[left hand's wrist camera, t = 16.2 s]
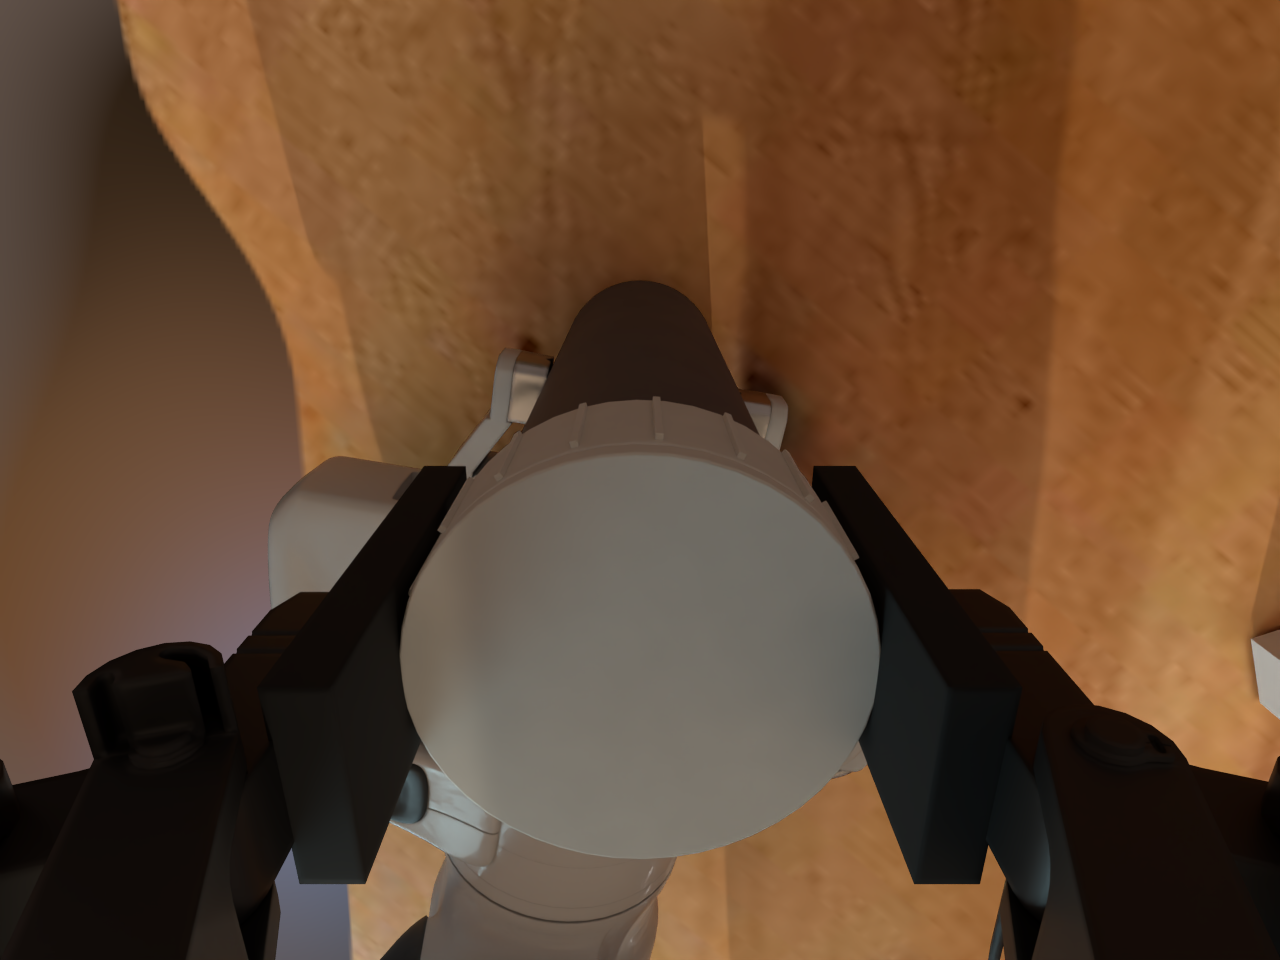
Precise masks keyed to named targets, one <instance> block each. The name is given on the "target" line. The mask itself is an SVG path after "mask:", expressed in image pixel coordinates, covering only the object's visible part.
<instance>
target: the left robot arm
mask: <svg viewBox="0 0 1280 960" xmlns="http://www.w3.org/2000/svg"><path fill="white" fill-rule="evenodd" d="M466 480H467V475H466V466H424V467H423V468H422V470H421V471H420V472H419V474H418V475H417V476H416V478H415V479H414V480H413V482H412V483H411V484H410V486H409V487H408V488H407V490H406V491H405V492H404V493H403V495H402V496H401V497H400V499H399V500H398V501H397V503H396V504H395V505H394V507H393V508H392V509H391V511H390V512H389V513H388V515H387V516H386V517H385V519H384V520H383V521H382V523H381V524H380V525H379V527H378V528H377V529H376V530H375V532H374V533H373V534H372V536H371V537H370V538H369V540H368V541H367V542H366V544H365V545H364V546H363V548H362V549H361V550H360V552H359V553H358V554H357V556H356V557H355V558H354V560H353V561H352V562H351V564H350V565H349V566H348V568H347V569H346V570H345V571H344V573H343V574H342V575H341V577H340V578H339V579H338V581H337V582H336V583H335V585H334V586H333V587H332V589H331V590H330V591H329V592H299V593H298V594H296V595H294V596H293V597H291V598H289V599H288V600H286V601H284V602H283V603H281V604H280V605H278V606H276V607H275V608H273V609H271V610H270V611H269V612H268V614H267V615H266V616H265V617H264V618H263V619H262V621H261V622H260V623H259V624H258V625H257V626H256V628H255V629H254V630H253V631H252V636H248V637H247V638H246V639H245V640H244V641H243V643H242V644H241V645H240V646H239V647H238V648H237V653H236V654H232V655H231V657H230V658H229V659H228V660H227V661H226V662H225V664H224V662H223V658H222V654H221V653H220V652H219V651H217V650H216V649H215V648H213V647H212V646H210V645H207V644H201V643H196V642H175V643H163V644H159V645H155V646H151V647H147V648H143V649H139V650H135V651H133V652H130V653H128V654H126V655H123V656H121V657H118V658H116V659H113V660H111V661H109V662H107V663H106V664H104V665H102V666H101V667H99V668H98V669H96V670H95V671H93V672H91V673H90V674H88V675H87V676H86V677H85V678H84V679H83V680H82V681H81V682H80V683H79V684H78V686H77V687H76V688H75V689H74V690H73V691H72V693H73V696H74V699H75V702H76V705H77V708H78V711H79V714H80V718H81V721H82V724H83V727H84V730H85V733H86V736H87V739H88V742H89V745H90V748H91V751H92V755H93V758H94V761H93V763H92V765H91V767H90V768H89V769H85V770H82V771H78V772H73V773H68V774H63V775H59V776H54V777H49V778H44V779H39V780H35V781H30V782H25V783H20V784H16V785H12V784H11V781H10V778H9V776H8V773H7V771H6V768H5V765H4V763H3V761H2V760H1V759H0V960H275V957H276V948H277V939H278V930H279V922H280V913H281V912H280V905H279V899H278V893H277V889H276V885H275V881H274V880H275V878H276V877H277V875H278V873H279V871H280V869H281V867H282V865H283V863H284V861H285V859H286V857H287V855H288V854H289V852H290V850H291V848H292V851H293V856H294V860H295V865H296V869H297V874H298V879H299V883H300V884H365V883H366V881H367V878H368V876H369V873H370V871H371V868H372V865H373V863H374V860H375V858H376V855H377V853H378V850H379V847H380V845H381V842H382V840H383V837H384V835H385V832H386V830H387V827H388V824H389V822H390V819H391V817H392V814H393V812H394V809H395V806H396V804H397V801H398V799H399V796H400V794H401V791H402V789H403V786H404V783H405V781H406V778H407V776H408V773H409V771H410V768H411V765H412V763H413V760H414V758H415V755H416V753H417V750H418V748H419V745H420V742H421V738H420V737H419V735H418V733H417V731H416V728H415V726H414V723H413V721H412V718H411V716H410V713H409V711H408V708H407V704H406V700H405V695H404V688H403V681H402V673H401V665H400V657H399V650H400V638H401V627H402V623H403V618H404V614H405V610H406V606H407V602H408V599H409V597H410V596H408V592H409V589H410V587H411V585H412V584H413V582H414V580H415V578H416V576H417V575H418V573H419V571H420V569H421V568H422V566H423V564H424V562H425V560H426V559H427V557H428V555H429V553H430V552H431V550H432V548H433V546H434V545H435V543H436V541H437V539H438V537H439V536H440V534H442V533H441V532H439V531H438V528H439V527H440V525H441V523H442V521H443V520H444V518H445V516H446V514H447V513H448V511H449V509H450V508H451V506H452V504H453V502H454V501H455V499H456V497H457V495H458V494H459V492H460V490H461V489H462V487H463V485H464V483H465V482H466ZM812 489H813V490H814V492H815V493H816V495H817V496H818V498H819V499H820V501H821V503H822V502H824V501H827V503H828V504H829V506H830V508H831V510H832V511H833V513H834V515H835V516H836V518H837V520H838V521H839V523H840V525H841V527H842V528H843V530H844V532H845V533H846V535H847V537H848V538H849V540H850V542H851V544H852V545H853V547H854V549H855V550H856V552H857V554H858V556H859V558H858V559H856V560H854V561H855V563H856V565H857V566H858V568H859V570H860V572H861V575H862V577H863V579H864V581H865V583H866V585H867V588H868V590H869V592H870V594H871V598H872V601H873V605H874V608H875V612H876V616H877V619H878V625H879V634H880V642H881V652H880V661H879V669H878V677H877V684H876V691H875V698H874V704H873V708H872V711H871V713H870V716H869V719H868V722H867V725H866V727H865V729H864V731H863V733H862V735H861V737H860V739H859V740H858V741H859V744H860V746H861V749H862V751H863V754H864V757H865V759H866V762H867V764H868V767H869V769H870V772H871V774H872V777H873V780H874V782H875V785H876V787H877V790H878V792H879V795H880V797H881V800H882V803H883V805H884V808H885V810H886V813H887V815H888V818H889V821H890V823H891V826H892V828H893V831H894V833H895V836H896V838H897V841H898V844H899V846H900V849H901V851H902V854H903V856H904V859H905V862H906V864H907V867H908V869H909V872H910V874H911V877H912V879H913V882H914V884H980V881H981V876H982V872H983V867H984V863H985V858H986V853H987V849H988V845H989V847H990V849H991V851H992V852H993V854H994V856H995V858H996V860H997V862H998V864H999V866H1000V868H1001V870H1002V872H1003V873H1004V875H1005V877H1006V881H1005V885H1004V889H1003V893H1002V898H1001V902H1000V906H999V911H998V915H997V919H996V923H995V928H994V932H993V936H992V941H991V945H990V952H989V958H988V960H1000V957H1001V953H1002V949H1003V946H1004V954H1005V960H1280V756H1279V757H1278V758H1277V761H1276V763H1275V766H1274V769H1273V771H1272V774H1271V777H1270V779H1269V782H1267V781H1262V780H1257V779H1252V778H1248V777H1243V776H1238V775H1233V774H1228V773H1224V772H1219V771H1214V770H1209V769H1204V768H1200V767H1196V766H1193V765H1189V763H1188V761H1187V759H1186V758H1185V756H1184V755H1183V754H1182V752H1181V751H1180V750H1179V748H1178V747H1177V746H1176V744H1175V743H1174V742H1173V741H1172V740H1171V739H1169V738H1168V737H1167V736H1165V735H1164V734H1163V733H1161V732H1160V731H1158V730H1157V729H1156V728H1154V727H1153V726H1152V725H1150V724H1147V723H1145V722H1143V721H1141V720H1139V719H1137V718H1135V717H1133V716H1131V715H1128V714H1126V713H1123V712H1120V711H1116V710H1112V709H1109V708H1105V707H1102V706H1095V705H1094V704H1093V703H1092V702H1091V701H1090V700H1089V699H1088V697H1087V696H1086V695H1085V694H1084V693H1083V692H1082V691H1081V689H1080V688H1079V687H1078V686H1077V685H1076V684H1075V682H1074V681H1073V680H1072V679H1071V678H1070V677H1069V676H1068V674H1067V673H1066V672H1065V671H1064V670H1063V669H1062V667H1061V666H1060V665H1059V664H1058V663H1057V662H1056V661H1055V659H1054V658H1053V657H1052V656H1051V655H1050V654H1049V653H1048V651H1044V650H1043V646H1042V644H1041V643H1040V642H1039V641H1038V640H1037V639H1036V638H1035V636H1034V635H1033V634H1032V633H1028V628H1027V627H1026V626H1025V625H1024V624H1023V623H1022V621H1021V620H1020V619H1019V618H1018V617H1017V616H1016V614H1015V613H1014V612H1013V611H1012V610H1011V609H1010V608H1009V607H1008V606H1006V605H1005V604H1003V603H1001V602H1000V601H998V600H996V599H995V598H993V597H991V596H990V595H988V594H986V593H985V592H983V591H982V590H980V589H948V588H947V587H946V585H945V584H944V583H943V581H942V580H941V579H940V577H939V576H938V575H937V574H936V572H935V571H934V570H933V568H932V567H931V566H930V564H929V563H928V562H927V560H926V559H925V558H924V556H923V555H922V554H921V552H920V551H919V550H918V548H917V547H916V546H915V544H914V543H913V542H912V540H911V539H910V538H909V537H908V535H907V534H906V533H905V531H904V530H903V529H902V527H901V526H900V525H899V523H898V522H897V521H896V519H895V518H894V517H893V515H892V514H891V513H890V511H889V510H888V509H887V507H886V506H885V505H884V503H883V502H882V501H881V499H880V498H879V497H878V496H877V494H876V493H875V492H874V490H873V489H872V488H871V486H870V485H869V484H868V482H867V481H866V480H865V478H864V477H863V476H862V474H861V473H860V472H859V470H858V469H857V468H856V466H814V469H813V480H812Z"/></svg>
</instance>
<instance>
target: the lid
mask: <svg viewBox="0 0 1280 960" xmlns="http://www.w3.org/2000/svg"><path fill="white" fill-rule="evenodd" d="M438 531H439V532H441V533H442V534H440V536H439V537H438V539H437V541H436V543H435V545H434V546H433V548H432V550H431V552H430V553H429V555H428V557H427V559H426V560H425V562H424V564H423V566H422V568H421V569H420V571H419V573H418V575H417V576H416V578H415V580H414V582H413V584H412V585H411V587H410V589H409V592H408V596H410V597H409V599H408V602H407V606H406V610H405V614H404V618H403V623H402V627H401V638H400V650H399V657H400V665H401V673H402V681H403V688H404V695H405V700H406V704H407V708H408V711H409V713H410V716H411V718H412V721H413V723H414V726H415V728H416V731H417V733H418V735H419V737H420V738H421V740H422V742H423V744H424V745H425V747H426V749H427V751H428V752H429V754H430V756H431V757H432V758H433V760H434V761H435V762H436V764H437V765H438V766H439V767H440V769H441V770H442V771H443V773H444V774H445V775H446V777H447V778H448V779H449V780H450V781H451V782H452V783H453V784H454V785H455V786H456V787H457V788H458V789H459V790H460V791H461V792H462V793H463V794H464V795H465V796H467V797H468V798H469V799H470V800H472V801H473V802H474V803H475V804H477V805H478V806H479V807H480V808H482V809H483V810H484V811H486V812H487V813H489V814H490V815H492V816H493V817H495V818H497V819H498V820H500V821H501V822H503V823H505V824H506V825H508V826H510V827H512V828H514V829H516V830H518V831H520V832H522V833H524V834H526V835H528V836H531V837H533V838H535V839H538V840H541V841H543V842H546V843H549V844H552V845H555V846H558V847H561V848H565V849H569V850H573V851H577V852H581V853H586V854H591V855H598V856H606V857H613V858H634V859H649V858H665V857H675V856H682V855H688V854H694V853H700V852H704V851H707V850H711V849H715V848H718V847H722V846H726V845H729V844H731V843H734V842H736V841H739V840H742V839H744V838H747V837H750V836H752V835H754V834H756V833H758V832H760V831H762V830H764V829H766V828H768V827H770V826H772V825H774V824H776V823H777V822H779V821H781V820H782V819H784V818H785V817H787V816H788V815H790V814H791V813H793V812H794V811H796V810H797V809H799V808H800V807H801V806H802V805H804V804H805V803H806V802H807V801H808V800H810V799H811V798H812V797H813V796H814V795H816V794H817V793H818V792H819V791H820V790H821V789H822V788H823V787H824V786H825V785H826V784H827V783H828V782H829V781H830V779H831V778H832V777H833V776H834V775H835V774H836V773H837V772H838V771H839V769H840V768H841V767H842V765H843V764H844V762H845V761H846V760H847V758H848V757H849V755H850V754H851V753H852V751H853V750H854V748H855V746H856V744H857V742H858V740H859V739H860V737H861V735H862V733H863V731H864V729H865V727H866V725H867V722H868V719H869V716H870V713H871V711H872V708H873V704H874V698H875V691H876V684H877V677H878V669H879V661H880V652H881V642H880V634H879V625H878V619H877V616H876V612H875V608H874V605H873V601H872V598H871V594H870V592H869V590H868V588H867V585H866V583H865V581H864V579H863V577H862V575H861V572H860V570H859V568H858V566H857V565H856V563H855V561H854V560H856V559H858V558H859V556H858V554H857V552H856V550H855V549H854V547H853V545H852V544H851V542H850V540H849V538H848V537H847V535H846V533H845V532H844V530H843V528H842V527H841V525H840V523H839V521H838V520H837V518H836V516H835V515H834V513H833V511H832V510H831V508H830V506H829V504H828V503H827V501H824V502H822V503H821V501H820V499H819V498H818V496H817V495H816V493H815V492H814V490H813V489H812V487H811V485H810V484H809V482H808V481H807V479H806V478H805V476H804V475H803V474H802V473H801V472H800V471H799V469H798V467H797V465H796V463H795V462H794V460H793V458H792V456H791V454H790V453H789V452H788V451H787V450H786V449H784V450H783V451H782V452H781V451H779V450H778V449H777V448H776V447H775V446H773V445H772V444H771V443H770V442H769V441H768V440H766V439H764V438H763V437H761V436H760V435H758V434H757V433H755V432H753V431H752V430H750V429H749V428H747V427H746V426H744V425H742V424H739V423H737V422H735V421H734V420H733V418H732V415H731V414H728V413H726V412H725V413H724V415H723V416H722V415H720V414H717V413H714V412H710V411H707V410H704V409H701V408H698V407H694V406H690V405H684V404H679V403H673V402H667V401H661V400H660V397H656V396H653V401H652V400H627V401H615V402H606V403H601V404H596V405H592V406H587V403H582V404H579V407H578V409H576V410H573V411H570V412H567V413H564V414H561V415H558V416H556V417H553V418H551V419H549V420H547V421H545V422H543V423H541V424H539V425H537V426H535V427H533V428H531V429H529V430H528V431H526V432H525V433H523V434H522V433H521V432H520V431H518V432H516V433H515V434H514V435H513V437H512V439H511V441H510V443H509V444H507V445H506V446H505V447H504V448H503V449H502V450H501V451H500V452H499V453H497V454H496V455H495V456H494V457H493V458H492V459H491V460H490V461H489V462H488V463H487V464H486V465H485V466H484V468H483V469H482V470H481V471H480V472H479V474H478V475H477V476H476V477H475V478H474V479H472V478H471V477H468V479H467V480H466V482H465V483H464V485H463V487H462V489H461V490H460V492H459V494H458V495H457V497H456V499H455V501H454V502H453V504H452V506H451V508H450V509H449V511H448V513H447V514H446V516H445V518H444V520H443V521H442V523H441V525H440V527H439V528H438Z"/></svg>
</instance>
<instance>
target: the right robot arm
mask: <svg viewBox="0 0 1280 960" xmlns="http://www.w3.org/2000/svg"><path fill="white" fill-rule="evenodd" d="M553 362H554V357H553V356H548V355H543V354H538V353H533V352H527V351H522V350H519V349H511V348H504V350H503V351H502V352H501V353H500V355H499V358H498V361H497V366H496V370H495V377H494V386H493V395H492V404H491V409H490V410H489V411H488V412H487V414H486V415H485V416H484V418H483V419H482V420H481V421H480V423H479V424H478V425H477V426H476V428H475V429H474V430H473V431H472V433H471V434H470V435H469V436H468V438H467V439H466V440H465V442H464V443H463V444H462V445H461V447H460V448H459V450H458V451H457V453H456V454H455V455H454V457H453V458H452V460H451V461H450V463H449V464H448V466H466V475H467V479H468V477H471V478H472V479H474V478H475V477H476V476H477V475H478V474H479V472H480V471H481V470H482V469H483V468H484V466H485V465H486V464H487V463H488V462H489V461H490V460H491V459H492V458H493V457H494V456H495V455H496V454H497V453H496V452H489V451H490V450H491V449H492V448H493V446H494V445H495V444H496V443H497V441H498V440H499V439H500V438H501V436H502V435H503V434H504V433H505V431H506V430H507V429H508V428H509V426H510V425H511V424H512V422H515V423H522V424H526V422H527V420H528V418H529V416H530V414H531V411H532V409H533V407H534V405H535V403H536V401H537V399H538V397H539V394H540V392H541V390H542V388H543V386H544V384H545V382H546V380H547V377H548V375H549V373H550V371H551V369H552V367H553ZM738 390H739V392H740V394H741V396H742V398H743V401H744V403H745V405H746V407H747V409H748V411H749V413H750V415H751V417H752V420H753V422H754V424H755V426H756V428H757V430H758V432H759V434H760V436H761V437H763V438H764V439H766V440H768V441H769V442H770V443H771V444H772V445H773V446H775V447H776V448H777V449H778V450H779V451H780V447H781V443H782V439H783V435H784V431H785V427H786V423H787V419H788V405H787V403H786V402H785V400H784V399H783V397H782V396H779V395H773V394H767V393H762V392H756V391H749V390H743V389H738ZM421 470H422V469H417V468H411V467H405V466H399V465H393V464H387V463H381V462H375V461H369V460H363V459H357V458H351V457H343V456H337V457H332V458H329V459H328V460H326V461H324V462H323V463H322V464H320V465H319V466H318V467H316V468H315V469H314V470H312V471H311V472H309V473H308V474H307V475H305V476H304V477H303V478H302V479H300V480H299V481H298V482H297V483H296V484H295V485H294V486H293V487H292V488H291V489H290V490H289V491H288V492H287V493H286V494H285V495H284V496H283V497H282V499H281V500H280V501H279V503H278V504H277V506H276V507H275V509H274V511H273V513H272V516H271V519H270V524H269V533H268V569H269V588H270V601H271V609H273V608H275V607H276V606H278V605H280V604H281V603H283V602H284V601H286V600H288V599H289V598H291V597H293V596H294V595H296V594H298V593H299V592H329V591H330V590H331V589H332V587H333V586H334V585H335V583H336V582H337V581H338V579H339V578H340V577H341V575H342V574H343V573H344V571H345V570H346V569H347V568H348V566H349V565H350V564H351V562H352V561H353V560H354V558H355V557H356V556H357V554H358V553H359V552H360V550H361V549H362V548H363V546H364V545H365V544H366V542H367V541H368V540H369V538H370V537H371V536H372V534H373V533H374V532H375V530H376V529H377V528H378V527H379V525H380V524H381V523H382V521H383V520H384V519H385V517H386V516H387V515H388V513H389V512H390V511H391V509H392V508H393V507H394V505H395V504H396V503H397V501H398V500H399V499H400V497H401V496H402V495H403V493H404V492H405V491H406V490H407V488H408V487H409V486H410V484H411V483H412V482H413V480H414V479H415V478H416V476H417V475H418V474H419V472H420V471H421ZM866 765H867V762H866V759H865V757H864V754H863V751H862V749H861V746H860V744H859V741H858V742H857V744H856V746H855V748H854V750H853V751H852V753H851V754H850V755H849V757H848V758H847V760H846V761H845V762H844V764H843V765H842V767H841V768H840V769H839V771H838V772H837V773H836V774H835V775H834V776H833V777H832V778H831V779H834V778H838V777H842V776H845V775H847V774H849V773H851V772H856V771H860V770H862V769H863V768H864V767H865V766H866ZM389 823H392V824H394V825H396V826H398V827H400V828H402V829H404V830H406V831H408V832H410V833H412V834H414V835H416V836H418V837H420V838H421V839H423V840H425V841H427V842H429V843H430V844H432V845H434V846H435V847H437V848H439V849H440V850H442V851H444V852H445V855H446V858H445V860H444V862H443V864H442V866H441V868H440V871H439V873H438V876H437V878H436V881H435V884H434V889H433V894H432V898H431V905H430V912H429V917H427V916H424V917H423V918H421V919H420V920H419V921H417V922H416V923H415V924H414V925H412V926H411V927H410V928H409V929H408V930H407V931H406V932H405V933H404V934H403V935H402V936H401V937H400V938H399V939H398V940H397V941H396V942H395V943H394V945H393V946H392V947H391V948H390V949H389V950H388V951H387V952H386V954H385V955H384V956H383V957H382V958H381V959H380V960H650V957H651V953H652V949H653V946H654V942H655V937H656V931H657V924H658V900H657V896H658V894H659V893H660V892H661V890H662V889H663V887H664V885H665V884H666V882H667V880H668V878H669V876H670V874H671V872H672V869H673V866H674V864H675V861H676V858H677V856H675V857H665V858H649V859H634V858H613V857H606V856H598V855H591V854H586V853H581V852H577V851H573V850H569V849H565V848H561V847H558V846H555V845H552V844H549V843H546V842H543V841H541V840H538V839H535V838H533V837H531V836H528V835H526V834H524V833H522V832H520V831H518V830H516V829H514V828H512V827H510V826H508V825H506V824H505V823H503V822H501V821H500V820H498V819H497V818H495V817H493V816H492V815H490V814H489V813H487V812H486V811H484V810H483V809H482V808H480V807H479V806H478V805H477V804H475V803H474V802H473V801H472V800H470V799H469V798H468V797H467V796H465V795H464V794H463V793H462V792H461V791H460V790H459V789H458V788H457V787H456V786H455V785H454V784H453V783H452V782H451V781H450V780H449V779H448V778H447V777H446V775H445V774H444V773H443V771H442V770H441V769H440V767H439V766H438V765H437V764H436V762H435V761H434V760H433V758H432V757H431V756H430V754H429V752H428V751H427V749H426V747H425V745H424V744H423V742H422V740H421V742H420V745H419V748H418V750H417V753H416V755H415V758H414V760H413V763H412V765H411V768H410V771H409V773H408V776H407V778H406V781H405V783H404V786H403V789H402V791H401V794H400V796H399V799H398V801H397V804H396V806H395V809H394V812H393V814H392V817H391V819H390V822H389Z"/></svg>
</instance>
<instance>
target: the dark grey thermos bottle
mask: <svg viewBox="0 0 1280 960" xmlns="http://www.w3.org/2000/svg"><path fill="white" fill-rule="evenodd" d="M653 396H656V397H660V400H661V401H667V402H673V403H679V404H684V405H690V406H694V407H698V408H701V409H704V410H707V411H710V412H714V413H717V414H720V415H722V416H723V415H724V413H725V412H726V413H728V414H731V415H732V418H733V420H734V421H735V422H737V423H739V424H742V425H744V426H746V427H747V428H749V429H750V430H752V431H753V432H755V433H757V434H758V435H760V434H759V432H758V430H757V428H756V426H755V424H754V422H753V420H752V417H751V415H750V413H749V411H748V409H747V407H746V405H745V403H744V401H743V398H742V396H741V394H740V392H739V390H738V388H737V386H736V384H735V382H734V379H733V377H732V375H731V373H730V371H729V369H728V367H727V365H726V363H725V361H724V358H723V356H722V354H721V352H720V350H719V348H718V346H717V344H716V342H715V339H714V337H713V335H712V333H711V331H710V329H709V327H708V325H707V323H706V320H705V319H704V317H703V315H702V314H701V312H700V311H699V310H698V308H697V307H696V306H695V305H694V304H693V303H692V302H691V301H690V300H689V299H688V298H687V297H686V296H684V295H683V294H681V293H680V292H678V291H676V290H675V289H673V288H671V287H668V286H666V285H663V284H660V283H655V282H650V281H630V282H625V283H620V284H617V285H614V286H611V287H609V288H607V289H605V290H603V291H601V292H600V293H599V294H597V295H596V296H594V297H593V298H592V299H591V300H590V301H589V302H587V303H586V305H585V306H584V307H583V308H582V309H581V310H580V312H579V314H578V315H577V317H576V318H575V320H574V322H573V324H572V326H571V329H570V331H569V333H568V335H567V337H566V339H565V341H564V343H563V346H562V348H561V350H560V352H559V354H558V356H557V358H556V360H555V363H554V365H553V367H552V369H551V371H550V373H549V375H548V377H547V380H546V382H545V384H544V386H543V388H542V390H541V392H540V394H539V397H538V399H537V401H536V403H535V405H534V407H533V409H532V411H531V414H530V416H529V418H528V420H527V422H526V424H525V426H524V428H523V431H522V434H523V433H525V432H526V431H528V430H529V429H531V428H533V427H535V426H537V425H539V424H541V423H543V422H545V421H547V420H549V419H551V418H553V417H556V416H558V415H561V414H564V413H567V412H570V411H573V410H576V409H578V407H579V404H582V403H587V406H592V405H596V404H601V403H606V402H615V401H627V400H652V401H653Z"/></svg>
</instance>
